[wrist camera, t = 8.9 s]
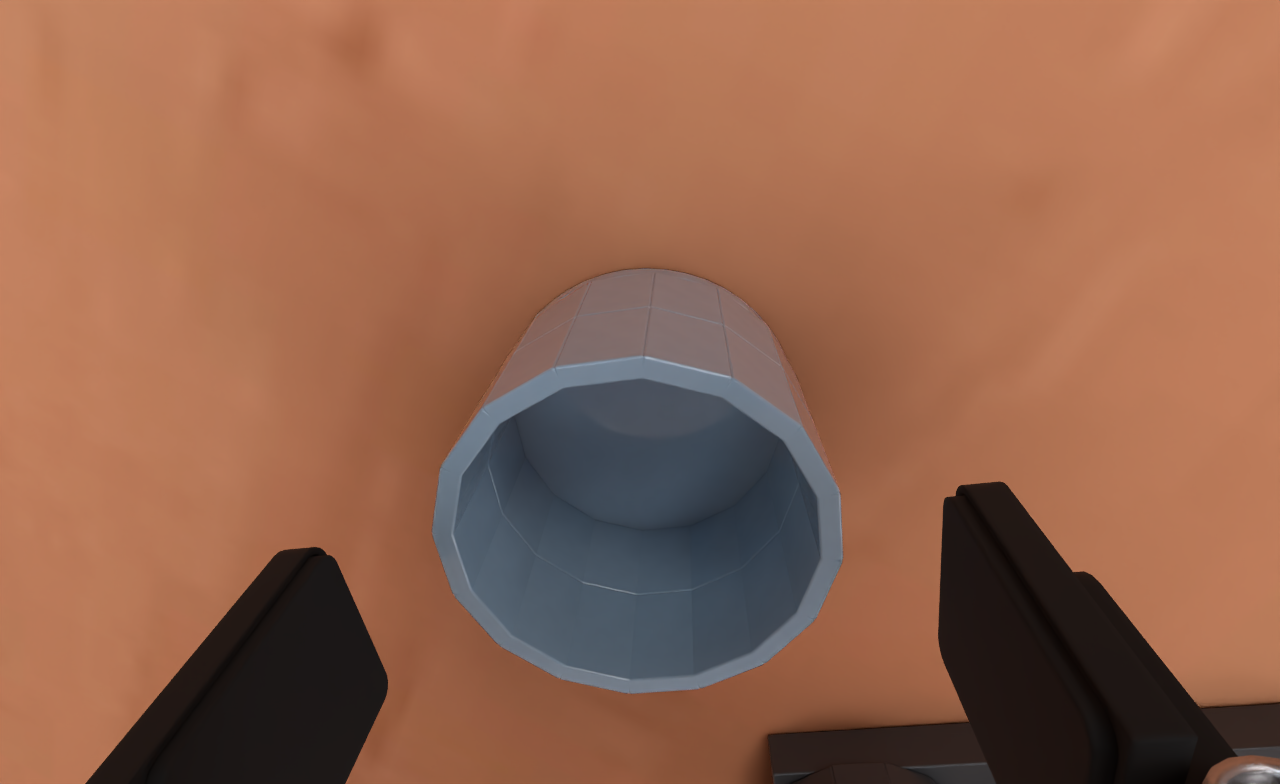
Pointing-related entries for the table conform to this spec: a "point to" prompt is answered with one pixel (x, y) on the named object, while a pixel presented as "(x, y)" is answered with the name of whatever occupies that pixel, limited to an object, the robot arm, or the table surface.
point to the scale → (957, 750)
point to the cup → (641, 490)
